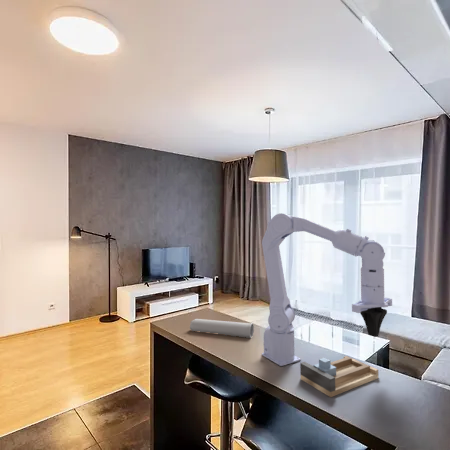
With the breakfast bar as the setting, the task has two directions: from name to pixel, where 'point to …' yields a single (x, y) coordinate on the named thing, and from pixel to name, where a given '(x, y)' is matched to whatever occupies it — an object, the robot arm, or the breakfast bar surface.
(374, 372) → the track
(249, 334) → the tube
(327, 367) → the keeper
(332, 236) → the robot arm
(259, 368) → the breakfast bar surface
